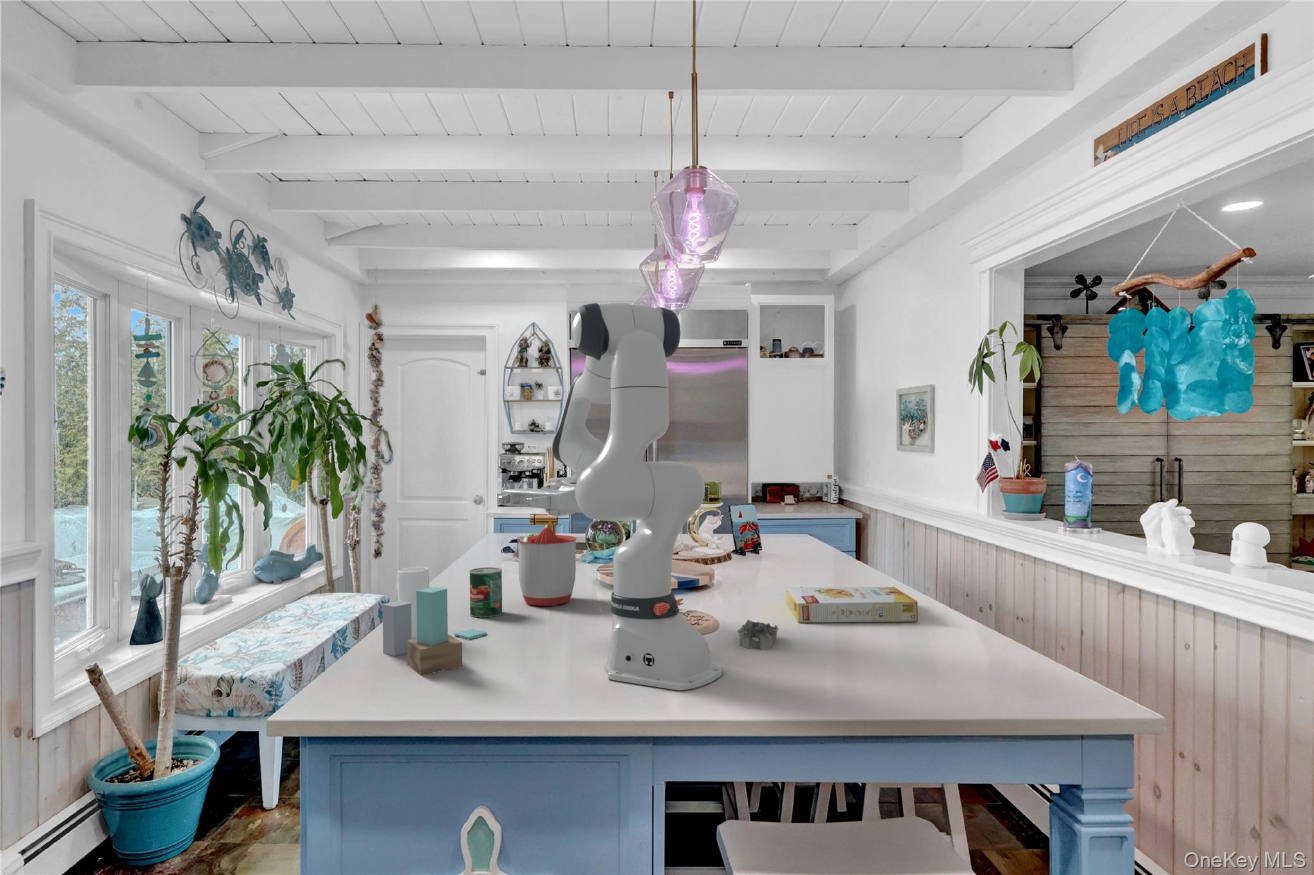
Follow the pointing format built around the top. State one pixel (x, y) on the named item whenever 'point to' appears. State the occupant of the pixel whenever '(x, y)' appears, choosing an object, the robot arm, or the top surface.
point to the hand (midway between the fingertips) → (513, 501)
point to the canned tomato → (485, 592)
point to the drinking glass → (412, 589)
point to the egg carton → (757, 635)
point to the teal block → (432, 616)
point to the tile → (470, 633)
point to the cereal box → (851, 605)
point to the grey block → (396, 627)
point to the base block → (434, 656)
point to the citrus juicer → (547, 568)
